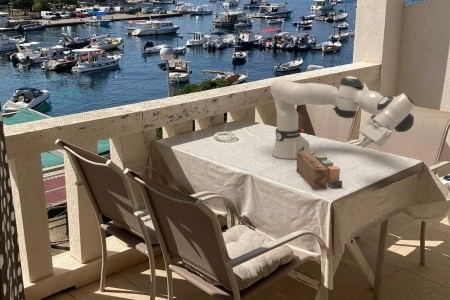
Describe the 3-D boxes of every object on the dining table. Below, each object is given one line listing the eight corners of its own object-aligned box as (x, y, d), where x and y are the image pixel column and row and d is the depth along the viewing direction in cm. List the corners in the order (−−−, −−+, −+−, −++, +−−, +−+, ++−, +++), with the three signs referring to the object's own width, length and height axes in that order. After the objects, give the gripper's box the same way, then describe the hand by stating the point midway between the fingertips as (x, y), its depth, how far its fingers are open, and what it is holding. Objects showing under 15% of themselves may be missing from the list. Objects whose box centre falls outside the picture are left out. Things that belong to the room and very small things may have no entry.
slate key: (329, 175, 271) (330, 160, 268) (332, 178, 267) (333, 162, 265) (320, 176, 270) (321, 160, 268) (323, 179, 266) (324, 163, 264)
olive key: (323, 169, 279) (324, 154, 276) (326, 172, 275) (327, 157, 273) (314, 170, 278) (315, 155, 276) (317, 173, 274) (318, 157, 272)
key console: (322, 168, 281) (323, 150, 279) (341, 187, 256) (343, 167, 254) (296, 170, 279) (297, 151, 276) (313, 189, 254) (314, 169, 252)
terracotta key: (335, 181, 263) (336, 166, 260) (338, 184, 259) (339, 168, 257) (326, 182, 262) (327, 166, 260) (329, 185, 258) (330, 169, 256)
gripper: (398, 134, 247) (375, 157, 249) (378, 123, 267) (356, 144, 268) (389, 125, 245) (366, 148, 247) (370, 114, 265) (348, 135, 266)
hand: (361, 146), depth 257 cm, fingers closed
